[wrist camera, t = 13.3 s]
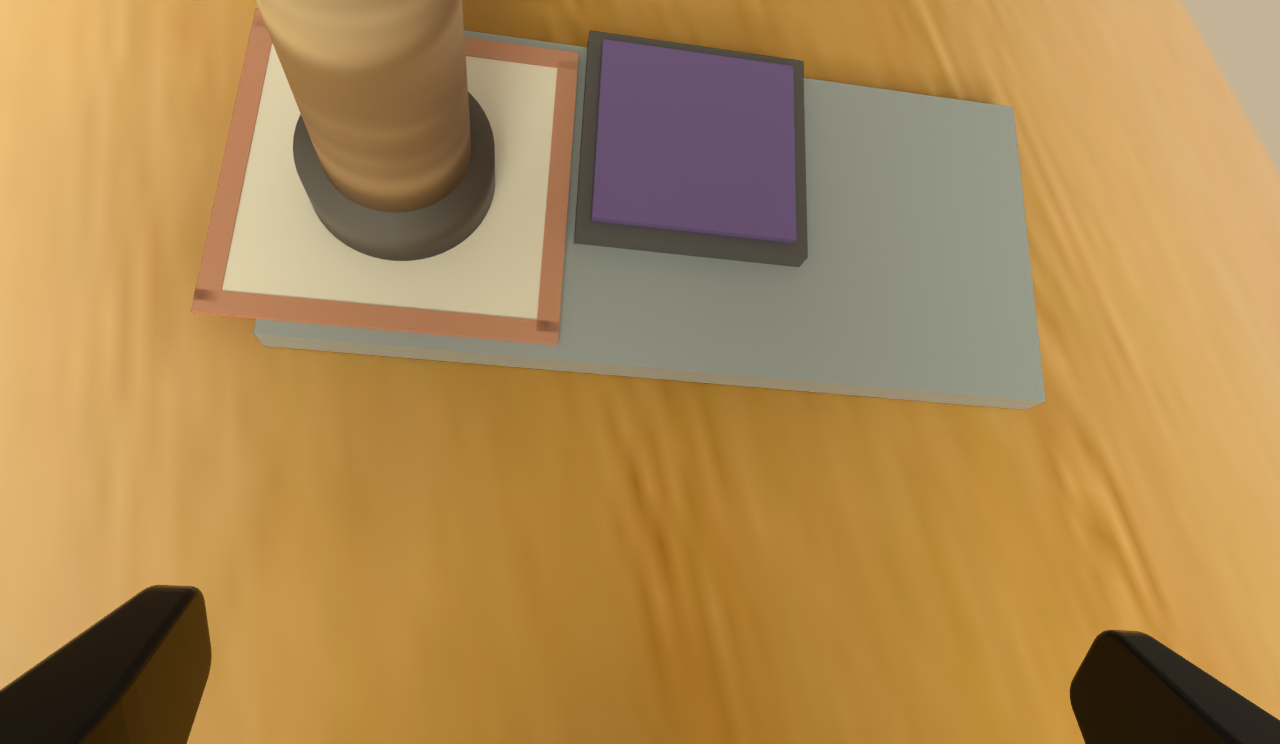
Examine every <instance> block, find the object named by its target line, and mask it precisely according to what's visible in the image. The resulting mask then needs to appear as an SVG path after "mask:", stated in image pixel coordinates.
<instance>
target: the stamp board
mask: <svg viewBox="0 0 1280 744" xmlns="http://www.w3.org/2000/svg"><path fill="white" fill-rule="evenodd" d="M464 37H465V53H466V69H467V85H468V92H469V93H470V94H471V95H472V96H473V97H474V98H475V99H476V100H477V102H478V103H479V104H480V106H481V107H482V109H483V110H484V112H485V114H486V116H487V118H488V120H489V122H490V126H491V129H492V132H493V137H494V144H495V189H494V196H493V199H492V203H491V206H490V208H489V210H488V213H487V215H486V216H485V218H484V220H483V221H482V223H481V224H480V225H479V227H478V228H477V229H476V230H475V231H474V232H473V233H472V234H471V235H470V236H469V237H468V238H467V239H466V240H464V241H463V242H462V243H460V244H459V245H457V246H456V247H454V248H452V249H450V250H448V251H446V252H444V253H442V254H439V255H436V256H433V257H429V258H425V259H420V260H412V261H392V260H384V259H379V258H375V257H371V256H368V255H365V254H363V253H360V252H358V251H356V250H354V249H352V248H350V247H348V246H347V245H345V244H344V243H342V242H341V241H340V240H338V239H337V238H336V237H335V236H334V235H333V234H331V233H330V232H329V231H328V230H327V228H326V227H325V226H324V225H323V223H322V222H321V221H320V219H319V218H318V216H317V214H316V213H315V211H314V208H313V206H312V204H311V202H310V200H309V198H308V195H307V193H306V191H305V189H304V187H303V185H302V182H301V180H300V178H299V175H298V173H297V170H296V166H295V162H294V157H293V137H294V132H295V128H296V124H297V121H298V119H299V116H300V114H301V113H300V111H299V108H298V106H297V103H296V101H295V98H294V96H293V93H292V91H291V88H290V86H289V83H288V81H287V78H286V76H285V73H284V71H283V68H282V65H281V63H280V60H279V58H278V55H277V53H276V50H275V48H274V45H273V43H272V40H271V38H270V35H269V33H268V30H267V28H266V25H265V23H264V20H263V18H262V15H261V13H260V10H259V8H256V9H255V13H254V18H253V23H252V27H251V32H250V37H249V41H248V46H247V51H246V55H245V60H244V65H243V69H242V74H241V79H240V84H239V88H238V93H237V98H236V102H235V107H234V112H233V116H232V121H231V126H230V130H229V135H228V140H227V144H226V149H225V154H224V158H223V163H222V168H221V173H220V177H219V182H218V187H217V191H216V196H215V201H214V205H213V210H212V215H211V219H210V224H209V229H208V233H207V238H206V243H205V247H204V252H203V257H202V262H201V266H200V271H199V276H198V280H197V285H196V290H195V294H194V299H193V304H192V308H191V311H192V312H193V313H194V314H205V315H216V316H228V317H239V318H251V319H256V323H255V328H254V333H253V334H254V335H255V336H256V337H257V338H258V340H259V341H260V342H261V343H262V344H263V345H264V346H270V347H282V348H294V349H306V350H318V351H330V352H342V353H353V354H365V355H377V356H389V357H401V358H413V359H425V360H437V361H449V362H461V363H473V364H485V365H497V366H509V367H520V368H532V369H544V370H556V371H568V372H580V373H592V374H604V375H616V376H628V377H640V378H652V379H664V380H676V381H688V382H699V383H711V384H723V385H735V386H747V387H759V388H771V389H783V390H795V391H807V392H819V393H831V394H843V395H855V396H866V397H878V398H890V399H902V400H914V401H926V402H938V403H950V404H962V405H974V406H986V407H998V408H1010V409H1022V410H1026V409H1028V408H1031V407H1033V406H1036V405H1038V404H1041V403H1043V402H1046V400H1045V391H1044V382H1043V372H1042V363H1041V354H1040V345H1039V336H1038V327H1037V318H1036V308H1035V299H1034V290H1033V281H1032V272H1031V263H1030V254H1029V245H1028V235H1027V226H1026V217H1025V208H1024V199H1023V190H1022V181H1021V171H1020V162H1019V153H1018V144H1017V135H1016V126H1015V117H1014V108H1013V107H1008V106H1001V105H994V104H987V103H980V102H973V101H966V100H958V99H951V98H944V97H937V96H930V95H923V94H916V93H909V92H901V91H894V90H887V89H880V88H873V87H866V86H859V85H852V84H845V83H837V82H830V81H823V80H816V79H809V78H804V66H803V61H800V60H793V59H786V58H779V57H772V56H765V55H758V54H751V53H744V52H737V51H730V50H723V49H716V48H709V47H702V46H695V45H688V44H681V43H674V42H667V41H660V40H653V39H646V38H639V37H632V36H625V35H618V34H611V33H604V32H597V31H591V30H590V32H589V38H588V45H587V47H581V46H574V45H567V44H560V43H553V42H546V41H538V40H531V39H524V38H517V37H510V36H503V35H496V34H489V33H481V32H474V31H467V30H464Z"/></svg>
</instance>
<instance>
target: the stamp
mask: <svg viewBox="0 0 1280 744" xmlns="http://www.w3.org/2000/svg"><path fill="white" fill-rule="evenodd" d="M256 3H257V5H258V8H259V10H260V13H261V15H262V18H263V20H264V23H265V25H266V28H267V30H268V33H269V35H270V38H271V40H272V43H273V45H274V48H275V50H276V53H277V55H278V58H279V60H280V63H281V65H282V68H283V71H284V73H285V76H286V78H287V81H288V83H289V86H290V88H291V91H292V93H293V96H294V98H295V101H296V103H297V106H298V108H299V111H300V113H301V114H300V116H299V119H298V121H297V124H296V128H295V132H294V137H293V157H294V162H295V166H296V170H297V173H298V175H299V178H300V180H301V182H302V185H303V187H304V189H305V191H306V193H307V195H308V198H309V200H310V202H311V204H312V206H313V208H314V211H315V213H316V214H317V216H318V218H319V219H320V221H321V222H322V223H323V225H324V226H325V227H326V228H327V230H328V231H329V232H330V233H331V234H333V235H334V236H335V237H336V238H337V239H338V240H340V241H341V242H342V243H344V244H345V245H347V246H348V247H350V248H352V249H354V250H356V251H358V252H360V253H363V254H365V255H368V256H371V257H375V258H379V259H384V260H392V261H412V260H420V259H425V258H429V257H433V256H436V255H439V254H442V253H444V252H446V251H448V250H450V249H452V248H454V247H456V246H457V245H459V244H460V243H462V242H463V241H464V240H466V239H467V238H468V237H469V236H470V235H471V234H472V233H473V232H474V231H475V230H476V229H477V228H478V227H479V225H480V224H481V223H482V221H483V220H484V218H485V216H486V215H487V213H488V210H489V208H490V206H491V203H492V199H493V196H494V189H495V144H494V137H493V132H492V129H491V126H490V122H489V120H488V118H487V116H486V114H485V112H484V110H483V109H482V107H481V106H480V104H479V103H478V102H477V100H476V99H475V98H474V97H473V96H472V95H471V94H470V93H469V92H468V85H467V69H466V53H465V37H464V21H463V5H462V0H256Z"/></svg>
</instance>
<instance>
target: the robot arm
mask: <svg viewBox="0 0 1280 744" xmlns="http://www.w3.org/2000/svg"><path fill="white" fill-rule="evenodd" d="M211 654H212V653H211V644H210V636H209V629H208V622H207V615H206V607H205V600H204V597H203V594H202V592H201V591H200V590H199V589H198V588H195V587H192V586H171V585H154V586H151V587H148V588H146V589H144V590H143V591H141V592H140V593H138V594H137V595H135V596H134V597H132V598H131V599H130V600H128V601H127V602H125V603H124V604H122V605H121V606H120V607H118V608H117V609H115V610H114V611H112V612H111V613H110V614H108V615H107V616H105V617H104V618H102V619H101V620H100V621H98V622H97V623H95V624H94V625H92V626H91V627H90V628H88V629H87V630H85V631H84V632H83V633H81V634H80V635H78V636H77V637H75V638H74V639H73V640H71V641H70V642H68V643H67V644H65V645H64V646H63V647H61V648H60V649H58V650H57V651H55V652H54V653H53V654H51V655H50V656H48V657H47V658H45V659H44V660H43V661H41V662H40V663H38V664H37V665H35V666H34V667H33V668H31V669H30V670H28V671H27V672H25V673H24V674H23V675H21V676H20V677H18V678H17V679H15V680H14V681H13V682H11V683H10V684H8V685H7V686H5V687H4V688H3V689H1V690H0V744H187V741H188V738H189V735H190V731H191V728H192V725H193V722H194V719H195V716H196V713H197V710H198V707H199V704H200V701H201V698H202V695H203V692H204V688H205V685H206V682H207V679H208V676H209V671H210V666H211ZM1070 700H1071V705H1072V709H1073V712H1074V714H1075V717H1076V720H1077V722H1078V725H1079V728H1080V730H1081V733H1082V736H1083V738H1084V741H1085V744H1280V720H1278V719H1277V718H1275V717H1273V716H1272V715H1270V714H1269V713H1267V712H1266V711H1264V710H1263V709H1261V708H1260V707H1258V706H1257V705H1255V704H1254V703H1252V702H1250V701H1249V700H1247V699H1246V698H1244V697H1243V696H1241V695H1240V694H1238V693H1237V692H1235V691H1234V690H1232V689H1231V688H1229V687H1227V686H1226V685H1224V684H1223V683H1221V682H1220V681H1218V680H1217V679H1215V678H1214V677H1212V676H1211V675H1209V674H1208V673H1206V672H1205V671H1203V670H1201V669H1200V668H1198V667H1197V666H1195V665H1194V664H1192V663H1191V662H1189V661H1188V660H1186V659H1185V658H1183V657H1182V656H1180V655H1178V654H1177V653H1175V652H1174V651H1172V650H1171V649H1169V648H1168V647H1166V646H1165V645H1163V644H1162V643H1160V642H1159V641H1157V640H1155V639H1154V638H1152V637H1151V636H1149V635H1147V634H1145V633H1142V632H1138V631H1123V630H1107V631H1103V632H1102V633H1100V634H1099V635H1098V636H1097V637H1096V638H1095V640H1094V642H1093V643H1092V645H1091V647H1090V649H1089V651H1088V652H1087V654H1086V656H1085V658H1084V660H1083V662H1082V663H1081V665H1080V667H1079V669H1078V671H1077V672H1076V674H1075V676H1074V678H1073V680H1072V682H1071V686H1070Z"/></svg>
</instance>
